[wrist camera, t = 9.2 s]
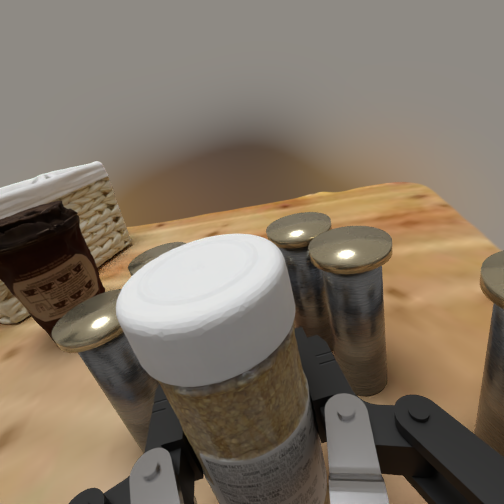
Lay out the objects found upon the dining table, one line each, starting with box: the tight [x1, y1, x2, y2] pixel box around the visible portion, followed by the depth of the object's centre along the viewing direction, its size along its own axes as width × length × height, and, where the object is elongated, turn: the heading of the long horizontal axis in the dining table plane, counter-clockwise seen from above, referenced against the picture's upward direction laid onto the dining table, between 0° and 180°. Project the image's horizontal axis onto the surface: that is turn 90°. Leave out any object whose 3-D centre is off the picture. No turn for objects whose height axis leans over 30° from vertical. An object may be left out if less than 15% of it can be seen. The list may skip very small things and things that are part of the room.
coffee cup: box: [0, 201, 105, 343], centre depth 30 cm, size 9×8×13 cm
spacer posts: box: [52, 212, 504, 457], centre depth 16 cm, size 21×16×10 cm
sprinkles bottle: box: [116, 234, 330, 504], centre depth 11 cm, size 5×5×13 cm
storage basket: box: [0, 161, 131, 324], centre depth 44 cm, size 24×16×15 cm
